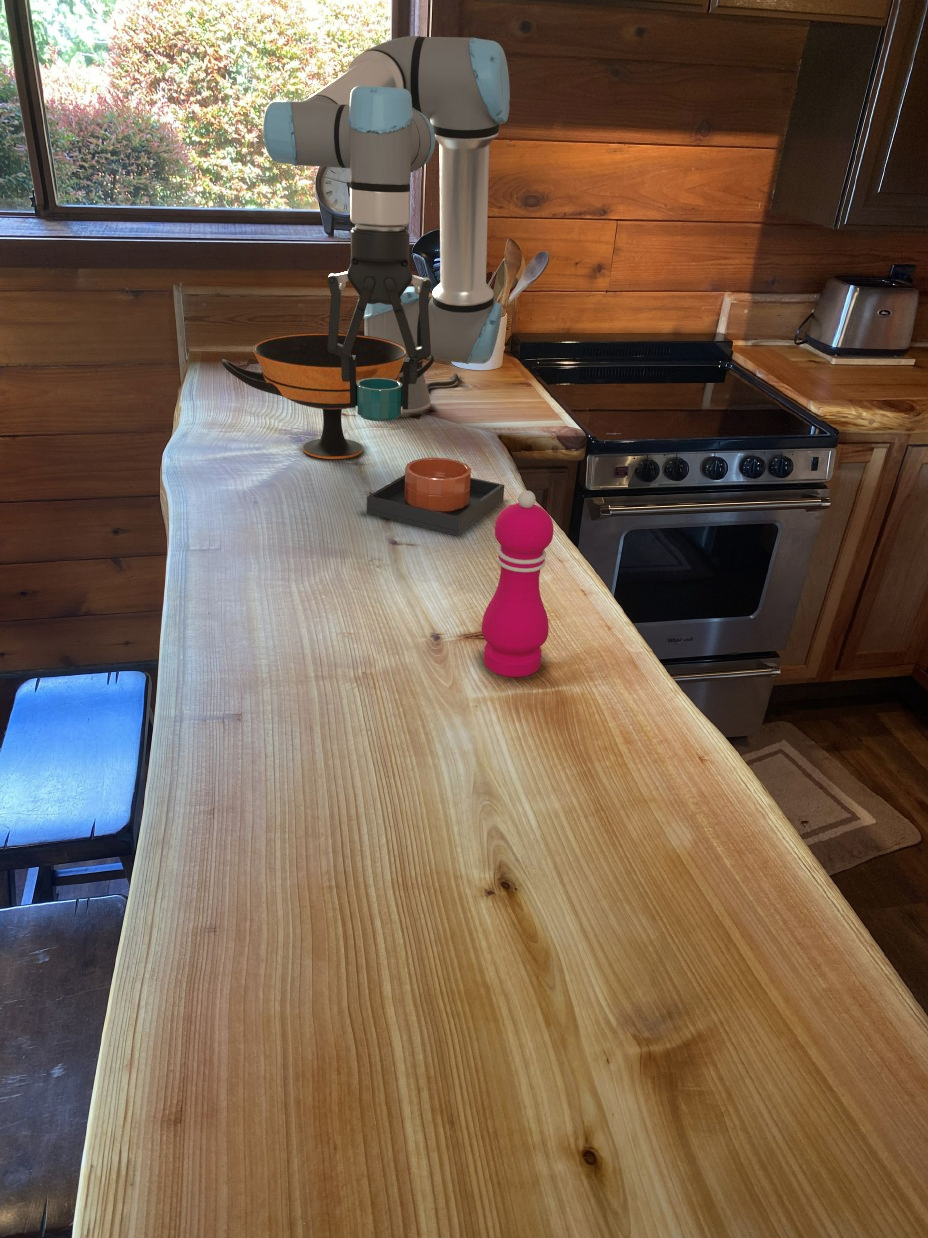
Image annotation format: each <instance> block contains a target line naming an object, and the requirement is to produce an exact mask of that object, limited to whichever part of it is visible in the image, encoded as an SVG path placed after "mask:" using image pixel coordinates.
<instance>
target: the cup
mask: <svg viewBox="0 0 928 1238" xmlns="http://www.w3.org/2000/svg"><path fill="white" fill-rule="evenodd" d="M328 333H329V332H303V333H292V334H291V333H290V334H284V335H278V336H273V337H268V338H265V339H262V340H259V341H258V342H256V343H255V344H254V345H253V347H252V348H253V349H252V351H253V353H254V356H255V358H256V360H257V362H258V364H259V366H260V368H261V371H255V370H249V369H246V368H244V367H243V368H242V367H240V366H238V365H236V364H234V363H232V362H230V361H229V360H227V359H224V358H223V359H221V360H220V361H221V365H222V367H224V368H225V370H226V371H228V372H229V373H230V374H231V375H233V376H234V377H235V378H237V379H238V380H239V381H241V382H242V383H244V384H245V385H247V386H250V387H252V388H254V389H256V390H259V391H261V392H265V393H269V394H271V395H275V396H279V397H282V398H285V399H287V400H288V401H291V402H293V403H296V404H298V405H301V406H305V407H307V408H308V407H309V408H313V409H320V410H322V417H323V419H322V430H321V431H322V432H321V436H320V438H318V439H317V438H316V439H312V440H309V441H307V442H306V443H304V445H303V446H302V450H303V452H304V454H306V455H308V456H311V457H313V458H318V459H325V460H341V459H349V458H354V457H356V456H358V455H360V454H362V452H363V445H362V444H361V443H359V442H357V441H355V440H352V439H347V438H346V437H345V435H344V430H343V425H342V424H343V423H342V412H343V410H348V409H353V408H352V407H350V382H343V380H342V377H341V358H340V356H338V355H336V354H334V353H329V352H328V349H327V347H328ZM346 336H347V333H342V332H341V333H338V343H339V344H342V345H344V342H345V339H346ZM351 355H356V382H357V381H359V380H362V379H367V378H387V379H392V380H396V381H399V382H401V383H402V384H403V377H399V373H401V372H403V357H406V356H407V351H406V349H405V348H404V347H403V346H401V345H400V344H398V343H395V342H392V341H389V340H385V339H381V338H377V337H371V336H365V334H364V335H363V334H357V336H356V339H355V342H354V345H353V348H352V351H351ZM424 358H426V357H423V358H420V359H419V360H418V362H419V361H420V360H422V359H423V360H425V359H424ZM428 358H430V359H428V361H427V362H426V363H425V364H424V365H423V367H422V368H420V369H419V370H417V378H419V377H420V376H421V375H422V374H425V373H426V372H427V371H428V370H429V369H430V368H431V366H432V365H433V363H434V361H435V360H434V357H433V355H432V354H430V356H428Z"/></svg>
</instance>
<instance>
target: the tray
mask: <svg viewBox="0 0 928 1238" xmlns="http://www.w3.org/2000/svg"><path fill="white" fill-rule="evenodd" d="M504 496H505V484H502V483H499V482H494V481H490V480H484V479H480V478H475V477H471V484H470V500H469V504H467V505H466V506H465V507H463V508H460V509H458V510H456V511H452V512H445V513H442V512H437V511H433V510H429V509H424V508H420V507H416V506H412V505H410V504H408V503H407V501H406V500H405V474H403V475H402V476H400V477H398V478H396V479H394V480H393V481H390V482H389V483H388V484H386V485H384V486H382V487H381V488H379V489H377V490H375V491H373V492H372V493H370V494H369V495H367V496H366V515H369V516H373V517H376V518H377V517H378V518H382V519H386V520H390V521H394V522H398V523H402V524H407V525H411V526H415V527H419V528H423V529H426V530H427V529H428V530H430V531H435V532H438V533H442V534H448V535H451V536H454V537H455V536H456V537H459V536H460V535H461V534H463V533H464V532H466V531H467V530H468V529H469V528H471V527H472V526H473V525H475V524H476V523H477V522H478V521H480V520H481V519H483V518H484V517H485V516H486V515H487V514H489V513H490V512H491V511H492V510H494V509H495V508H497V507H498V506H499V505H500V504H502V503H503V502H504V498H505V497H504Z"/></svg>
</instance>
